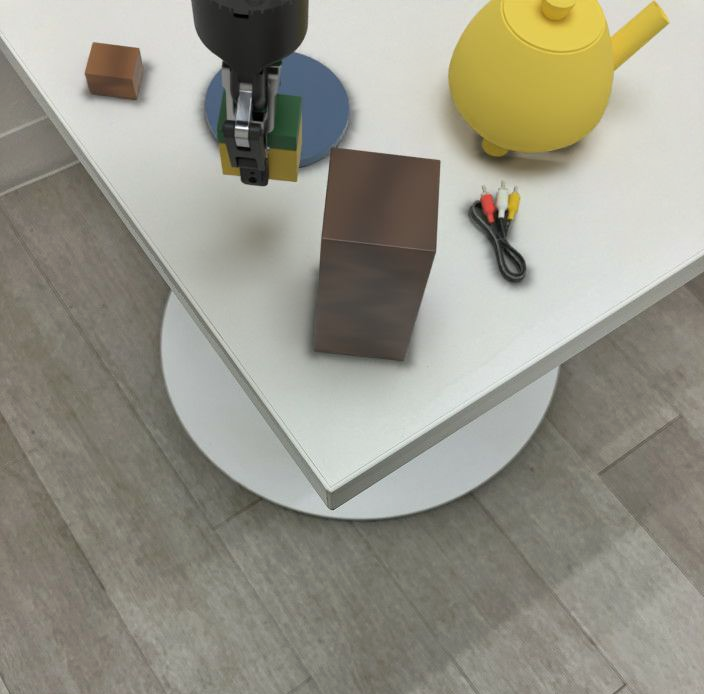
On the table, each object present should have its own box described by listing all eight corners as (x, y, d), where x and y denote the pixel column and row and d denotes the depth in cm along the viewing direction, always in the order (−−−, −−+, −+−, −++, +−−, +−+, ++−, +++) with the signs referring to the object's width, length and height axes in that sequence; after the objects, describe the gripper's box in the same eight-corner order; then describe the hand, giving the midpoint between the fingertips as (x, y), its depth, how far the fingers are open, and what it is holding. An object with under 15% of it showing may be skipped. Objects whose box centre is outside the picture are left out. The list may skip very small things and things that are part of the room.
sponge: (222, 175, 64) (216, 128, 59) (229, 135, 65) (223, 87, 61) (297, 182, 64) (296, 137, 59) (301, 143, 65) (302, 95, 61)
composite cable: (528, 282, 74) (536, 267, 71) (477, 284, 73) (484, 268, 71) (513, 195, 77) (520, 177, 75) (464, 195, 76) (470, 178, 74)
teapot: (602, 43, 85) (658, -85, 72) (654, 159, 80) (724, 43, 67) (423, 65, 82) (448, -65, 69) (465, 187, 77) (502, 72, 64)
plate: (196, 160, 75) (194, 152, 75) (216, 49, 80) (215, 41, 79) (342, 177, 76) (343, 170, 75) (353, 66, 81) (354, 58, 80)
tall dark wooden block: (313, 351, 69) (320, 238, 54) (321, 273, 72) (331, 146, 57) (404, 361, 70) (436, 251, 55) (409, 283, 73) (440, 159, 58)
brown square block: (90, 94, 77) (84, 73, 75) (98, 63, 79) (92, 41, 76) (136, 99, 77) (132, 79, 75) (144, 68, 79) (139, 47, 76)
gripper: (203, -126, 51) (224, 86, 67) (168, 39, 46) (199, 226, 62) (320, -111, 51) (312, 97, 67) (297, 55, 46) (295, 237, 62)
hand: (258, 158), depth 65 cm, fingers closed on sponge, 4 cm apart
